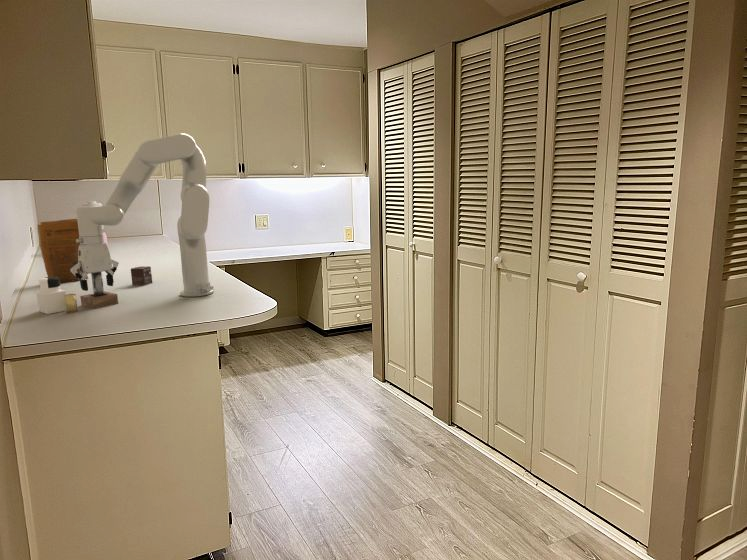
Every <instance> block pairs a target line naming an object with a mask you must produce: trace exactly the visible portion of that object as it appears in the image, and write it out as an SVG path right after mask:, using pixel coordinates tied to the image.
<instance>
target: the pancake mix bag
mask: <svg viewBox="0 0 747 560" xmlns="http://www.w3.org/2000/svg"><path fill="white" fill-rule="evenodd" d="M39 223H40V224H37V225H36V227H37V230H36V231H37V235H38V241H39V242H38V243H39V249H40V252H41V256H42V260H43V264H44V269H45V272H46V275H47V276H46V277H58V278H59V280H60V284H63V283H64V284H65V283H70V282H80V279H78V278H77V277H75V276H74V274H73V273H72V272H71V271H70V269H71V268H72V267H74V266H75V265H76V264H77V263H78V249H79V246H80V245H81V244H80V243H77V242H76V239H79V229H78V222H77V218H70V219H60V220H50V221H41V222H39ZM77 272H78V273H79V274H80V273H81V272H80V270H79V268H78V269H77ZM85 279H86V280H88V279H89V277H88V275H87V276H86V278H85Z"/></svg>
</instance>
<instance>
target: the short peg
mask: <svg viewBox="0 0 747 560" xmlns="http://www.w3.org/2000/svg"><path fill="white" fill-rule="evenodd" d="M64 296H65V304H66V311H65V312H66V313H67V314H72V313H73V314H74V313H77V312H78V311H79V310H78V309H79V308H78V303H77V295H76V294H75V293H70V294H69V293H68V294H67V293H66V295H64Z"/></svg>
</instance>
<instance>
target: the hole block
mask: <svg viewBox="0 0 747 560" xmlns="http://www.w3.org/2000/svg"><path fill="white" fill-rule="evenodd" d="M118 298H119V297H118V293H115V292H114V293H113V292H110V291H105V290H104V296H98V297H94V293H89V294H84V295H80V303H81V306H83V307H87V308H90V309H97V308H101V307H108V306H112V305H111V304H113V305H116V303H117V304H119V299H118ZM107 305H108V306H107Z"/></svg>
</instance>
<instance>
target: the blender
mask: <svg viewBox="0 0 747 560" xmlns="http://www.w3.org/2000/svg"><path fill="white" fill-rule="evenodd" d="M81 206H97V207H100V206H103V204H102V203H101V202H97V201H96V200H93V201H92V200H91V201H90V200H89V201H87V202H86V203H82V205H81ZM104 226H105V225H102V231H103V240H104V243H106V244H107V246H108V247H109V244H108V235H107V234H106V232H105V230H104Z"/></svg>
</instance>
